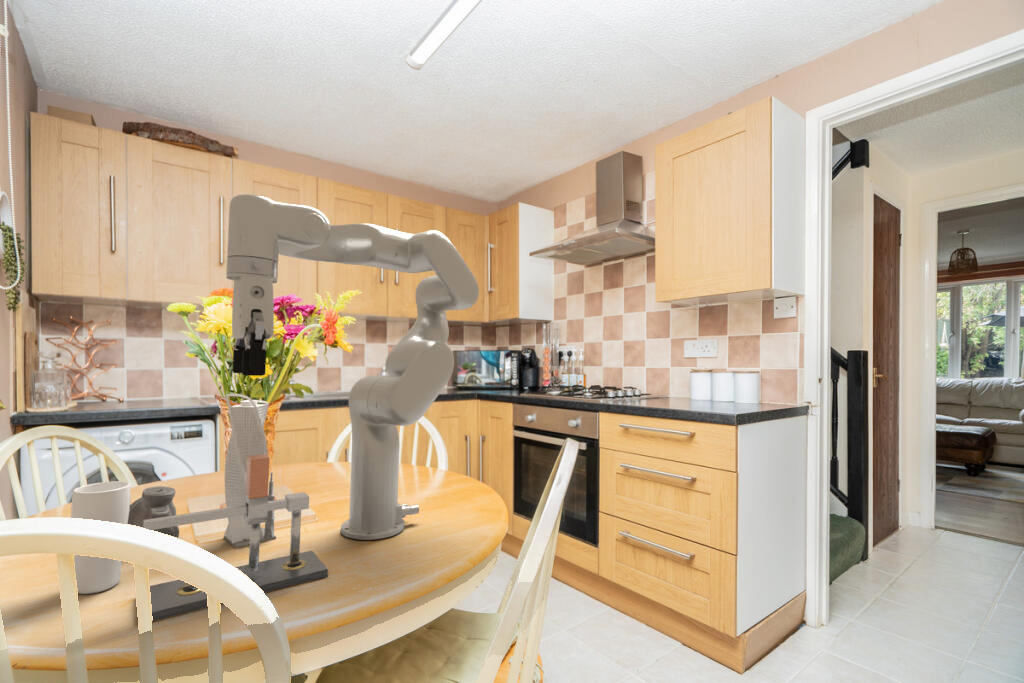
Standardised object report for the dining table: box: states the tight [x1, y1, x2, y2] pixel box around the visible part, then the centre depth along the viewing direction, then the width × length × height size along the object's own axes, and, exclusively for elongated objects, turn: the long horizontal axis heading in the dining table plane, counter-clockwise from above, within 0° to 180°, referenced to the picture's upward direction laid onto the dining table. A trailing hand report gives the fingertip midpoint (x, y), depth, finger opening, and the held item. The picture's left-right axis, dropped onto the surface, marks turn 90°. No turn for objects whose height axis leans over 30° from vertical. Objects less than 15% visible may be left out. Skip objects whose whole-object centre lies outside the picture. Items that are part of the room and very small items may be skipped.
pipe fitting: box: [128, 485, 180, 538], centre depth 88 cm, size 12×8×10 cm
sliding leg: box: [244, 454, 270, 571], centre depth 75 cm, size 3×4×18 cm
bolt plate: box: [149, 550, 329, 622], centre depth 73 cm, size 24×9×1 cm, turn 128°
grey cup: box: [70, 480, 131, 595], centre depth 72 cm, size 7×7×15 cm
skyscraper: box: [223, 393, 277, 549], centre depth 92 cm, size 8×8×28 cm
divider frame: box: [143, 491, 310, 565], centre depth 73 cm, size 22×3×11 cm, turn 128°
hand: (248, 374), depth 79 cm, fingers open, 9 cm apart
